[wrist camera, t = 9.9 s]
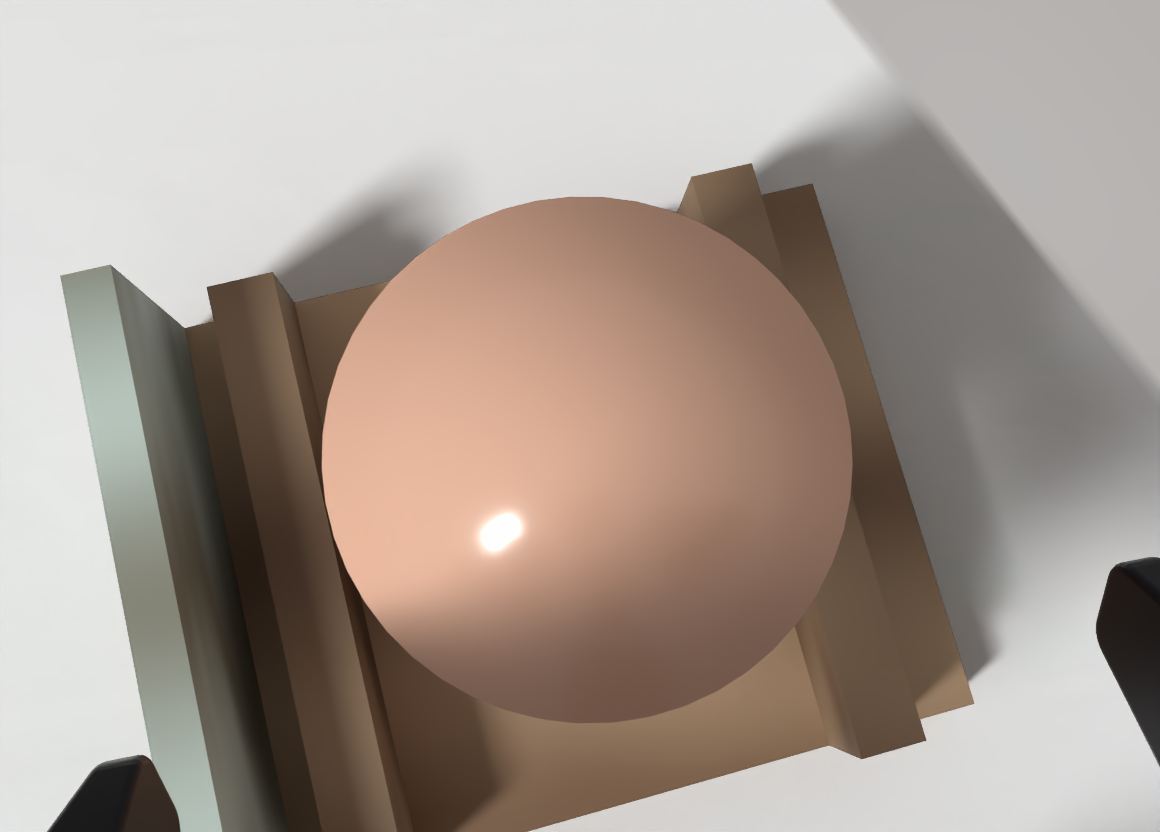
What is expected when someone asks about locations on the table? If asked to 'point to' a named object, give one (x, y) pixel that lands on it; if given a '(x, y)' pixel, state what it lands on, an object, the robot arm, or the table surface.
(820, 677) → the walnut shelf
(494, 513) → the peach pink cylinder
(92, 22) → the table surface
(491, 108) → the table surface
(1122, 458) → the table surface
